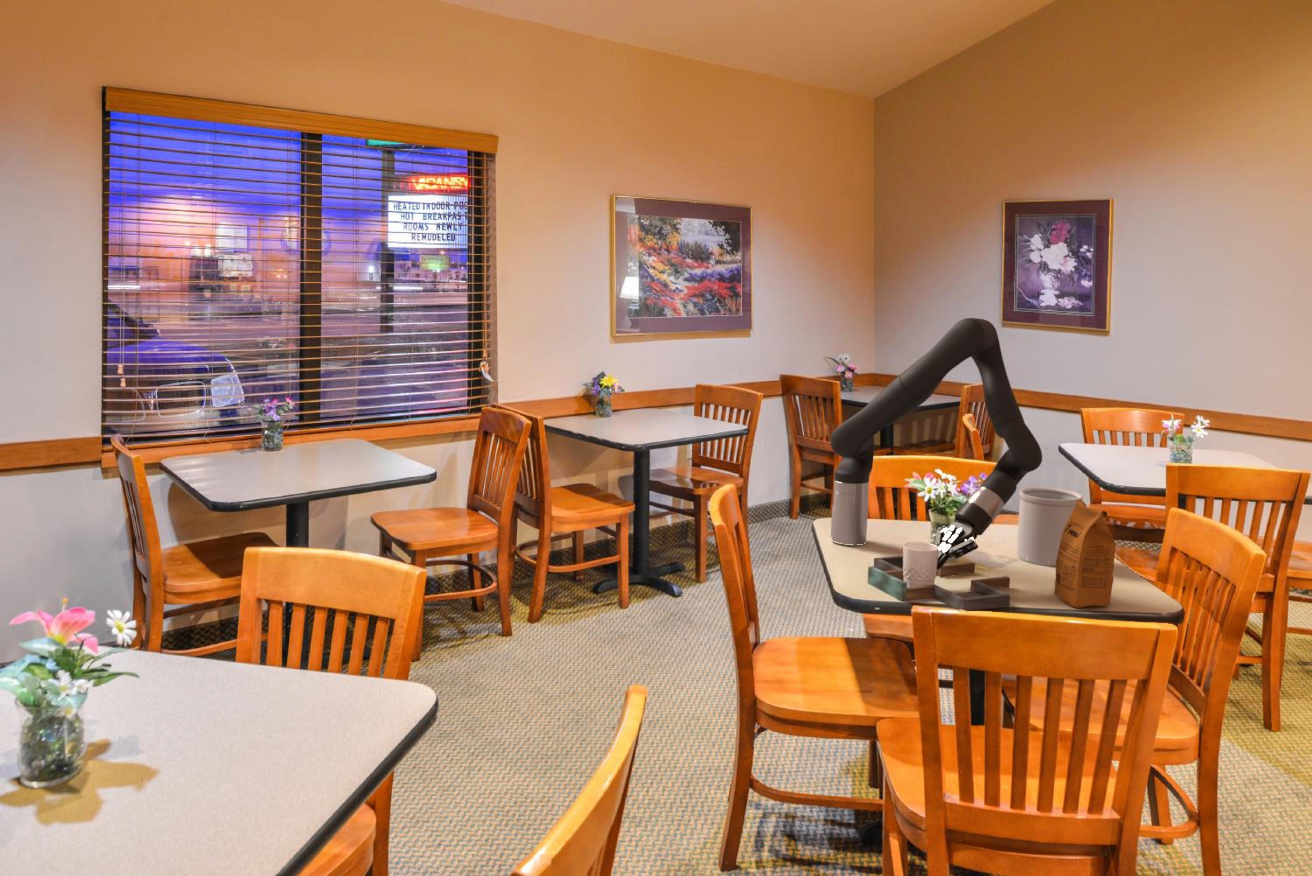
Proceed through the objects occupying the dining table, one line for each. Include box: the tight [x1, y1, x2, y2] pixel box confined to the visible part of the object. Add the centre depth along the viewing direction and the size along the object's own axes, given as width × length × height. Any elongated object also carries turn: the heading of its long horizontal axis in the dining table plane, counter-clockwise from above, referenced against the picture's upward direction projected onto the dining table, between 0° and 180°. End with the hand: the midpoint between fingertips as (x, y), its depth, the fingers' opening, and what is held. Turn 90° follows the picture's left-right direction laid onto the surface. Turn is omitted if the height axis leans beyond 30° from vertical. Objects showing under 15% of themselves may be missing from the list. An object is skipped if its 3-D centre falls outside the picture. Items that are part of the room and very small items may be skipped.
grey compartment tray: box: [867, 554, 1011, 611], centre depth 213 cm, size 34×30×4 cm
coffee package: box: [1053, 499, 1116, 609], centre depth 202 cm, size 10×12×22 cm
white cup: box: [902, 541, 939, 587], centre depth 210 cm, size 8×8×10 cm
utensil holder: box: [1016, 486, 1083, 567], centre depth 235 cm, size 15×15×18 cm
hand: (933, 566), depth 212 cm, fingers closed
